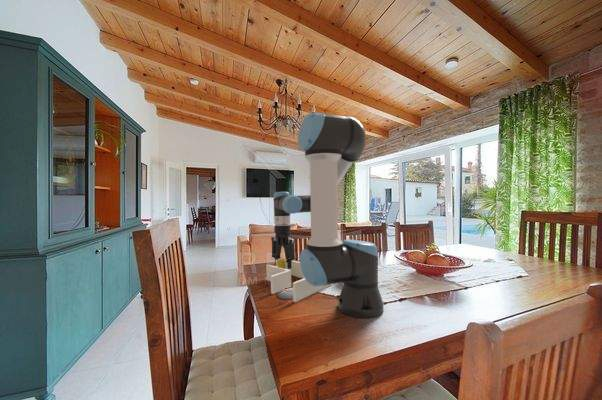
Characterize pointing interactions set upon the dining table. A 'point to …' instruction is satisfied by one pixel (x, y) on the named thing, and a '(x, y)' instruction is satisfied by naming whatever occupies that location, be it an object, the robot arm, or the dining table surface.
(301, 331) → the dining table surface
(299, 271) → the bent lane
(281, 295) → the pad
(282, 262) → the lemon
